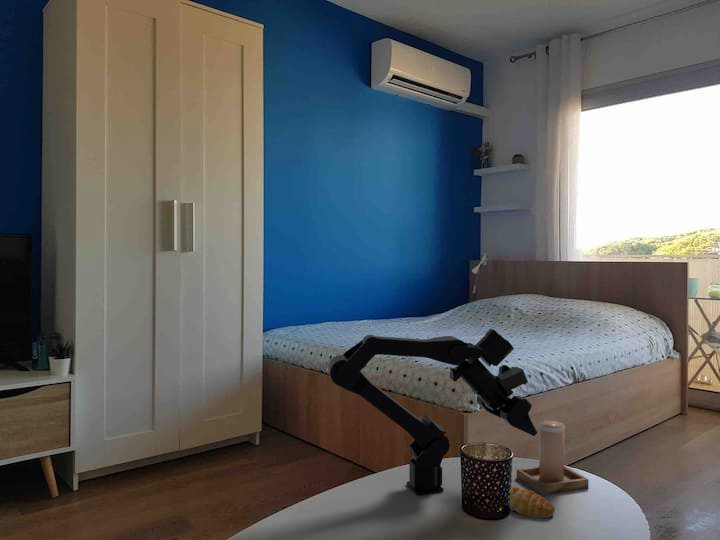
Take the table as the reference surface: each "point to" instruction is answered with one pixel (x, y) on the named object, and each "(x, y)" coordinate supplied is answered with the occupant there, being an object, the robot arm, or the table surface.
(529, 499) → the pastry
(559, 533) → the table surface
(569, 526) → the table surface
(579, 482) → the tray
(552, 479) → the tumbler
